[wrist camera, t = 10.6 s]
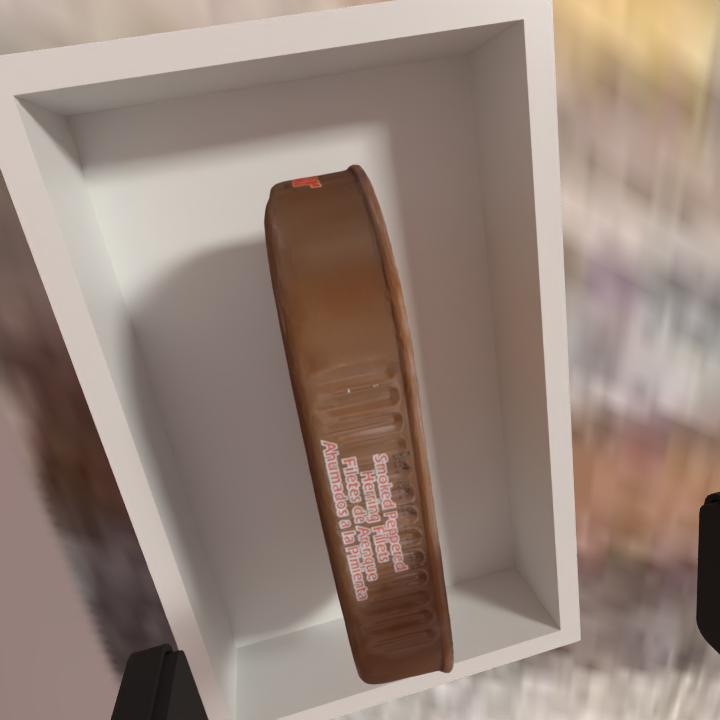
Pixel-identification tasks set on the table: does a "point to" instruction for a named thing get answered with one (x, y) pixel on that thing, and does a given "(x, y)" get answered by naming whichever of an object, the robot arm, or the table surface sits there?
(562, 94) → the table surface
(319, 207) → the tin
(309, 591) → the tote
